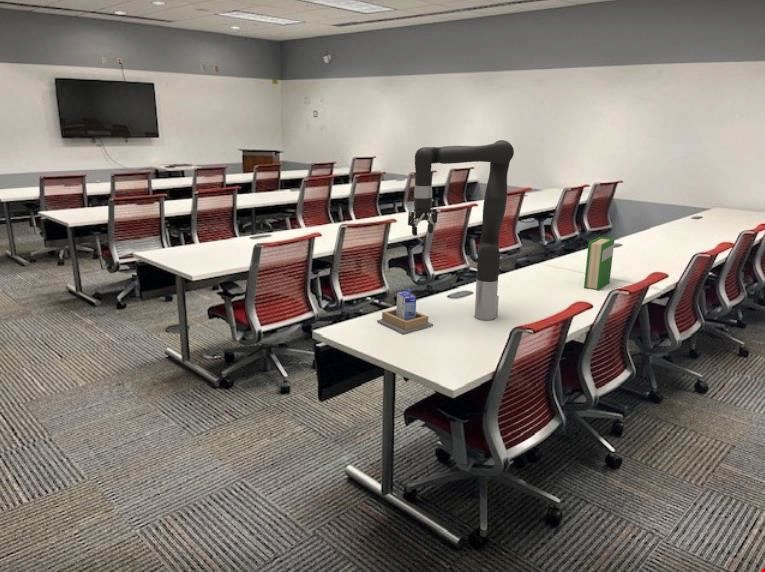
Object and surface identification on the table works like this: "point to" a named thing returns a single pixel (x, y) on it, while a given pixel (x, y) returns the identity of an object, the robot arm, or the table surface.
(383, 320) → the pocket holder
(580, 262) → the table surface
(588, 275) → the hardback book
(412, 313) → the ink cartridge box
